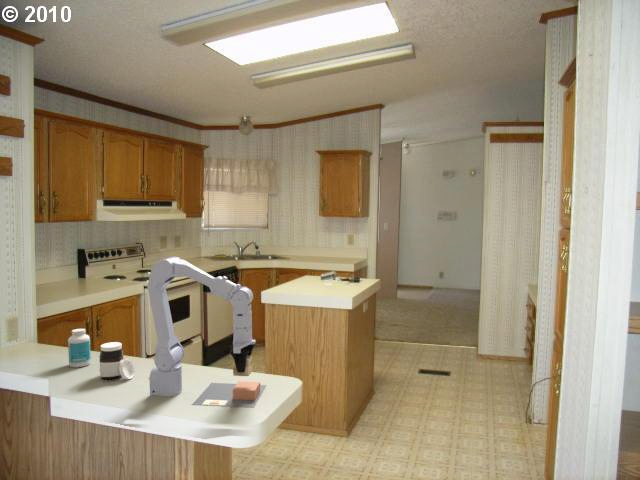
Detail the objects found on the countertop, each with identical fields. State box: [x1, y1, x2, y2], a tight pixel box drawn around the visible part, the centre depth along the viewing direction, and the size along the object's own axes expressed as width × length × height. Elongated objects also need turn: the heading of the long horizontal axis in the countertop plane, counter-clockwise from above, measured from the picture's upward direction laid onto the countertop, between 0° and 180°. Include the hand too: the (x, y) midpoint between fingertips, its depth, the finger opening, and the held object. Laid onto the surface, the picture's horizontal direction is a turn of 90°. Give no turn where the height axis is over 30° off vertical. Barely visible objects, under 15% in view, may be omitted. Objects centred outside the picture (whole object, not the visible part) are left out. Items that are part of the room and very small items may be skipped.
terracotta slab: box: [233, 380, 261, 400], centre depth 152 cm, size 7×7×3 cm
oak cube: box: [232, 354, 253, 377], centre depth 152 cm, size 5×5×5 cm
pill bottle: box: [67, 328, 92, 368], centre depth 183 cm, size 8×7×14 cm
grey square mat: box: [191, 382, 268, 409], centre depth 153 cm, size 19×18×1 cm
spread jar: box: [98, 341, 135, 382], centre depth 170 cm, size 12×11×12 cm
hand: (243, 369), depth 152 cm, fingers closed on oak cube, 5 cm apart
